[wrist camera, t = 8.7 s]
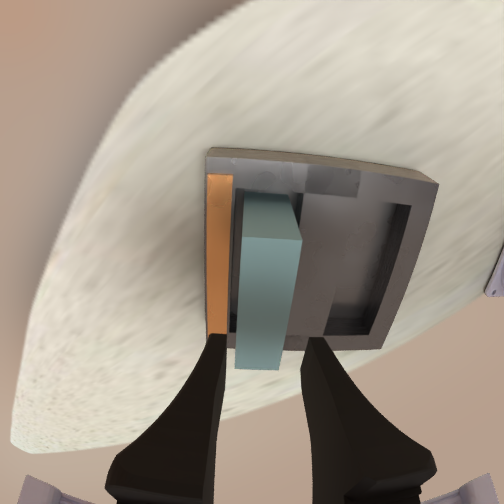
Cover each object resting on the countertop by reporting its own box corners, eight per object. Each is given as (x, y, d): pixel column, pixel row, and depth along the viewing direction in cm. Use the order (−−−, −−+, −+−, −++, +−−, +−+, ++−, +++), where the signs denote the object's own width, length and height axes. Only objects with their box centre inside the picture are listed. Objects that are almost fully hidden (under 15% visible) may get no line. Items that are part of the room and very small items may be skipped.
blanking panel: (287, 194, 17) (302, 240, 13) (273, 307, 21) (278, 370, 16) (244, 191, 17) (242, 236, 12) (237, 305, 21) (234, 368, 16)
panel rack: (419, 171, 17) (441, 185, 15) (371, 327, 23) (381, 351, 21) (211, 147, 17) (204, 158, 14) (210, 323, 23) (206, 349, 20)
